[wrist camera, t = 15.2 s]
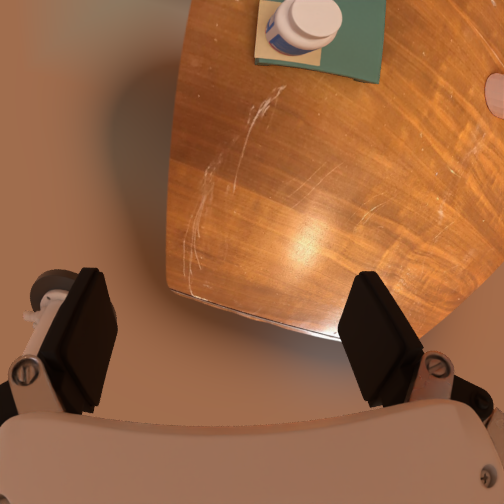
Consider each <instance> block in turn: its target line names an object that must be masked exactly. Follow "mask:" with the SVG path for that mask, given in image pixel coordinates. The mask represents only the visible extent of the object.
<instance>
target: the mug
mask: <svg viewBox="0 0 504 504" xmlns="http://www.w3.org/2000/svg"><path fill="white" fill-rule="evenodd" d="M485 98H486V102H487V105H488V108H489V110H490V111H491V112H492V114H493V115H495V116H496V117H498V118H501V119H504V75H503V74H498V73H494V74H491V75H490V76H489V77H488V79H487V82H486V86H485Z"/></svg>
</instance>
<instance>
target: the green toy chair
mask: <svg viewBox="0 0 504 504" xmlns="http://www.w3.org/2000/svg"><path fill="white" fill-rule="evenodd" d="M284 1H285V0H260V2H259V12H258V23H257V33H256V44H255V55H254V58H255V65H263V66H269V65H278V66H286V67H294V68H301V69H307V70H313V71H319V72H324V73H329V74H334V75H339V76H344V77H348V78H353V80H355V81H359V82H363V83H373V84H379V78H380V70H381V61H382V51H383V40H384V27H385V11H386V0H333V1H334V2H335V3H336V4H337V5H338V7H339V8H340V10H341V13H342V24H341V26H340V28H339V29H338V31H337V34H336V36H335V38H334V39H333V41H332V42H330V43H329V44H328V45H326V46H324V47H322V48H320V49H317V50H314V51H312V52H309V53H306V54H303V55H300V56H287V55H283V54H281V53H279V52H277V51H275V50H274V49H273V48H272V47H271V46H270V45H269V43H268V41H267V39H266V35H265V29H266V25H267V23H268V21H269V19H270V18H271V16H272V15H273V14H274V12H275V11H276V10H277V8H278V7H279V6H280V5H281V4H282V3H283V2H284Z"/></svg>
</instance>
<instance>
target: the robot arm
mask: <svg viewBox="0 0 504 504" xmlns="http://www.w3.org/2000/svg"><path fill="white" fill-rule="evenodd" d="M40 309H41V310H40V311H36V313H35V312H32V311H24V313H23V318H24V320H25V321H31V322H33V321H35V322H34V324H33V328H34V329H35V330H34V332H33V334H32V336H31V339H30V341H29V343H28V345H27V347H26V349H25V351H24V353H23V355H22V356H20V357H19V358H17V359H16V360H15V361H14V362H13V363H12V364H11V366H10V368H9V371H8V381H6V382H4V383H2V384H1V385H0V504H504V413H503V412H502V411H501V410H499V409H498V408H495V409H493V400H492V398H491V396H490V395H489V394H488V392H487V391H485V390H484V389H482V388H480V387H478V386H476V385H474V384H472V383H470V382H468V381H466V380H464V379H462V378H460V377H458V376H456V375H454V366H453V364H452V362H451V360H450V359H449V358H448V357H447V356H446V355H444V354H443V353H441V352H438V351H428V352H426V353H425V354H424V352H423V350H422V349H423V348H424V347H423V345H422V344H421V342H420V341H419V339H418V337H417V335H416V333H415V332H414V330H413V329H412V327H411V325H410V324H409V322H408V320H407V319H406V317H405V316H404V314H403V312H402V311H401V309H400V308H399V306H398V304H397V303H396V301H395V300H394V298H393V297H392V295H391V294H390V292H389V291H388V289H387V288H386V286H385V285H384V283H383V282H382V280H381V279H380V277H379V276H378V274H377V273H376V272H375V271H362V272H360V273H359V275H357V276H356V277H355V279H354V282H353V285H352V288H351V290H350V293H349V296H348V299H347V302H346V305H345V308H344V310H343V313H342V316H341V319H340V321H339V324H338V334H339V336H340V339H341V341H342V344H343V346H344V349H345V351H346V354H347V356H348V359H349V362H350V364H351V367H352V370H353V372H354V375H355V377H356V380H357V383H358V385H359V388H360V391H361V393H362V396H363V398H364V400H365V401H368V403H369V406H370V408H371V407H376V406H380V405H383V408H380V409H376V410H370V411H365V412H360V413H354V414H349V415H343V416H337V417H331V418H325V419H317V420H310V421H302V422H292V423H282V424H270V425H253V426H214V427H213V426H212V427H210V426H175V425H160V424H148V423H138V422H129V421H120V420H112V419H104V418H97V417H91V416H85V415H82V411H83V412H88V413H93V411H94V407H95V406H98V405H99V402H100V398H101V393H102V389H103V385H104V381H105V377H106V372H107V369H108V365H109V361H110V358H111V354H112V350H113V347H114V343H115V340H116V336H117V331H118V328H117V327H118V326H117V322H116V319H115V315H114V312H113V308H112V305H111V302H110V297H109V294H108V290H107V286H106V282H105V278H104V274H103V273H102V272H99V270H98V268H82V269H81V271H80V273H79V274H78V276H77V278H76V280H75V282H74V283H73V285H72V287H71V289H70V291H66V290H61V289H55V290H51V291H49V292H47V293H46V294H45V295H44V297H43V298H42V300H41V303H40Z"/></svg>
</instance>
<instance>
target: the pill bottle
mask: <svg viewBox="0 0 504 504" xmlns="http://www.w3.org/2000/svg"><path fill="white" fill-rule="evenodd" d="M341 24H342V13H341V10H340V8H339V7H338V5H337V4H336V3H335V2H334V1H333V0H285V1H284V2H283V3H282V4H281V5H280V6H279V7H278V8H277V10H276V11H275V12H274V14H273V15H272V16H271V18H270V19H269V21H268V23H267V25H266V29H265V35H266V39H267V41H268V43H269V45H270V46H271V47H272V48H273V49H274V50H275V51H277V52H279V53H281V54H283V55H287V56H300V55H303V54H306V53H309V52H312V51H314V50H317V49H320V48H322V47H324V46H326V45H328V44H329V43H330V42H332V41H333V39H334V38H335V36H336V34H337V31H338V29H339V28H340V26H341Z"/></svg>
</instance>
